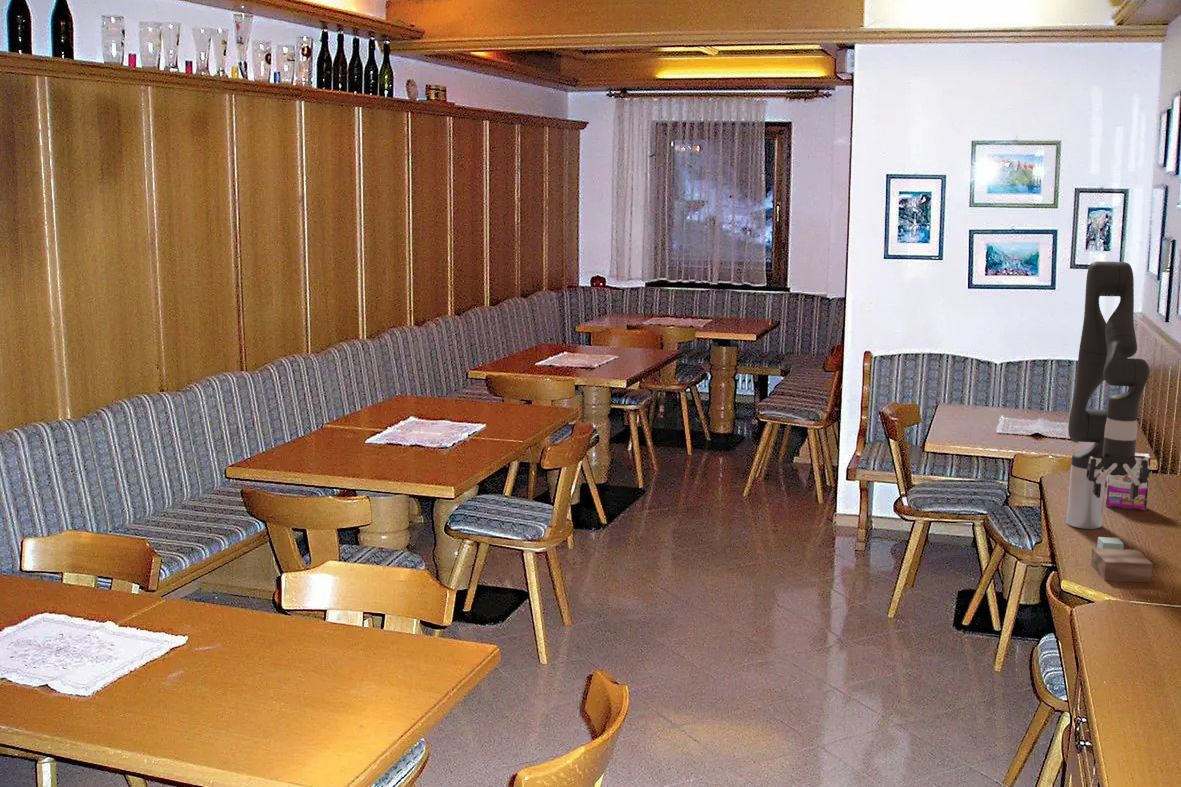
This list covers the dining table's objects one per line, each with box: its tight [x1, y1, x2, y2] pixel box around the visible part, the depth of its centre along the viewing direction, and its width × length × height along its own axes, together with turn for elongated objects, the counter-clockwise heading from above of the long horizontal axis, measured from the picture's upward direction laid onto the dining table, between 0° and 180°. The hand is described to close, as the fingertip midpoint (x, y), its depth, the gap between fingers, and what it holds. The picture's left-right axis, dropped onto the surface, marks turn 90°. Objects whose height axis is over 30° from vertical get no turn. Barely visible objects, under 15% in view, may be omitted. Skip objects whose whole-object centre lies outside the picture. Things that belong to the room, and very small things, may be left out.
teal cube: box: [1096, 536, 1125, 549], centre depth 310 cm, size 5×5×5 cm
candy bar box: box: [1105, 452, 1151, 511], centre depth 356 cm, size 11×5×16 cm, turn 68°
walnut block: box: [1090, 547, 1154, 583], centre depth 299 cm, size 11×11×5 cm
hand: (1114, 497), depth 308 cm, fingers open, 8 cm apart
